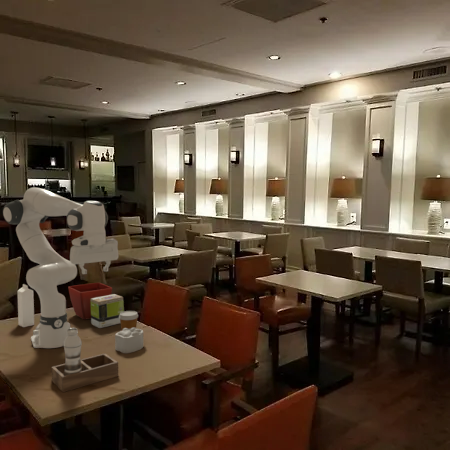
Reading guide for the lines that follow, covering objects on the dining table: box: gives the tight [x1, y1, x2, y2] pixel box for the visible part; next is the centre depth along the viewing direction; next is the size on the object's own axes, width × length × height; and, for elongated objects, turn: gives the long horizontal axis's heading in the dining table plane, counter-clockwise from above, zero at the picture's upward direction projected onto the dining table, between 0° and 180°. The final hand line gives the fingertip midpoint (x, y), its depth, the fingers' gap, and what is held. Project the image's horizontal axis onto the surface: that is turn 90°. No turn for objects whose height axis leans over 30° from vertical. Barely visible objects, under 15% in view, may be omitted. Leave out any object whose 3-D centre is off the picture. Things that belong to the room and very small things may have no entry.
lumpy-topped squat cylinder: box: [114, 327, 144, 354], centre depth 205 cm, size 10×13×9 cm
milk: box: [17, 283, 35, 328], centre depth 235 cm, size 6×6×22 cm
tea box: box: [90, 293, 125, 329], centre depth 239 cm, size 15×10×15 cm, turn 133°
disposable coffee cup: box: [119, 310, 139, 331], centre depth 219 cm, size 10×10×12 cm
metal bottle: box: [63, 327, 83, 376], centre depth 168 cm, size 6×7×20 cm
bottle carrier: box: [51, 353, 119, 393], centre depth 172 cm, size 12×22×6 cm, turn 131°
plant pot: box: [68, 282, 113, 320], centre depth 254 cm, size 19×19×17 cm
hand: (95, 272), depth 184 cm, fingers open, 8 cm apart
